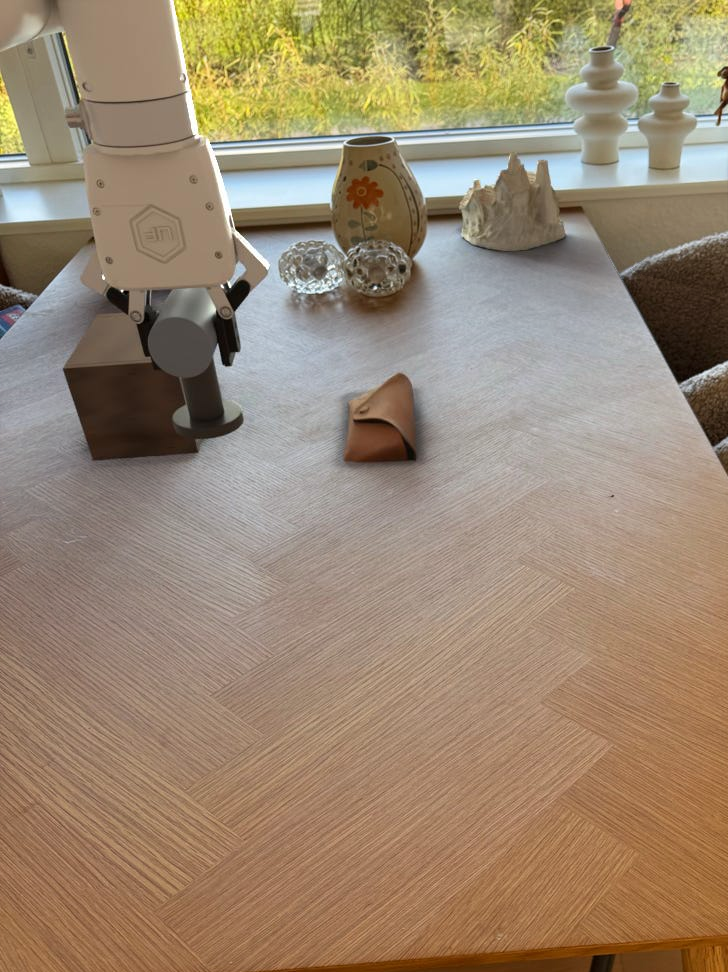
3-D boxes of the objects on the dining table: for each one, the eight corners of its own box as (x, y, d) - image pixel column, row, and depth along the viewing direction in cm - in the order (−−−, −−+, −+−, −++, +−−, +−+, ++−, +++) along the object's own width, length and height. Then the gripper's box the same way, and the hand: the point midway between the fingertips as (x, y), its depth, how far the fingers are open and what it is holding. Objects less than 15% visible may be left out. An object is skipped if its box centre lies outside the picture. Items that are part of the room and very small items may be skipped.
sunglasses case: (343, 400, 117) (366, 352, 114) (395, 422, 120) (418, 377, 116) (340, 471, 103) (365, 420, 100) (399, 496, 106) (425, 447, 103)
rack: (92, 460, 109) (57, 355, 101) (122, 399, 122) (93, 301, 114) (198, 452, 110) (171, 347, 102) (217, 393, 122) (194, 295, 114)
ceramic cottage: (577, 236, 165) (573, 140, 156) (498, 259, 159) (489, 161, 150) (527, 222, 176) (520, 131, 167) (451, 243, 170) (440, 151, 161)
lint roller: (167, 447, 81) (134, 319, 74) (182, 405, 87) (153, 284, 80) (238, 442, 81) (212, 315, 74) (248, 402, 88) (225, 280, 81)
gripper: (7, 138, 66) (82, 386, 78) (255, 128, 67) (293, 375, 78) (38, 116, 72) (104, 350, 83) (265, 107, 73) (300, 340, 84)
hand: (195, 360), depth 81 cm, fingers closed on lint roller, 5 cm apart
